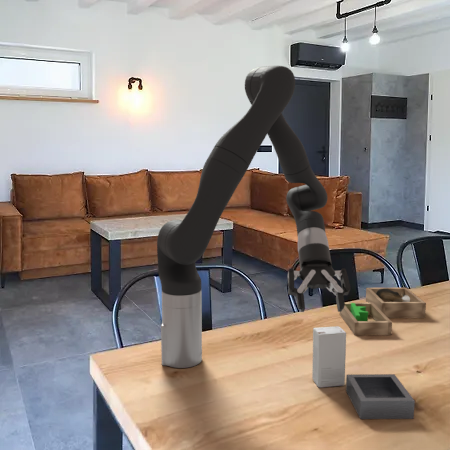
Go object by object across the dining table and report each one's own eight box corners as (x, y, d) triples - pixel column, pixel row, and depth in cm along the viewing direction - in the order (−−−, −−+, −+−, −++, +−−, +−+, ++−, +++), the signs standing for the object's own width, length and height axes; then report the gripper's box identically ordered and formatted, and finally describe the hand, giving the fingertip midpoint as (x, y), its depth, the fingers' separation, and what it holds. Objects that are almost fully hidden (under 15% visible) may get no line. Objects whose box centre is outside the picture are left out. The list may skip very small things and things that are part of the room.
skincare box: (337, 377, 113) (339, 324, 111) (345, 386, 108) (347, 332, 106) (310, 379, 112) (312, 326, 110) (317, 389, 107) (319, 334, 105)
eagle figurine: (396, 300, 164) (371, 297, 162) (407, 285, 159) (381, 282, 157) (404, 319, 158) (378, 316, 156) (416, 305, 154) (389, 301, 151)
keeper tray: (360, 419, 96) (361, 401, 95) (345, 390, 107) (346, 374, 106) (413, 418, 96) (414, 400, 95) (393, 390, 107) (394, 374, 106)
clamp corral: (354, 335, 137) (354, 322, 137) (339, 314, 154) (339, 302, 154) (391, 334, 138) (392, 322, 137) (372, 313, 154) (373, 302, 154)
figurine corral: (381, 317, 151) (381, 303, 150) (365, 301, 167) (366, 287, 166) (425, 317, 151) (426, 302, 150) (405, 300, 167) (406, 287, 166)
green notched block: (369, 331, 140) (369, 315, 140) (355, 331, 141) (355, 315, 140) (363, 317, 151) (363, 302, 151) (350, 317, 152) (350, 302, 151)
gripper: (286, 242, 123) (292, 303, 113) (345, 241, 123) (356, 302, 113) (283, 258, 129) (288, 317, 119) (339, 258, 129) (349, 317, 120)
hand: (321, 310), depth 116 cm, fingers open, 8 cm apart
